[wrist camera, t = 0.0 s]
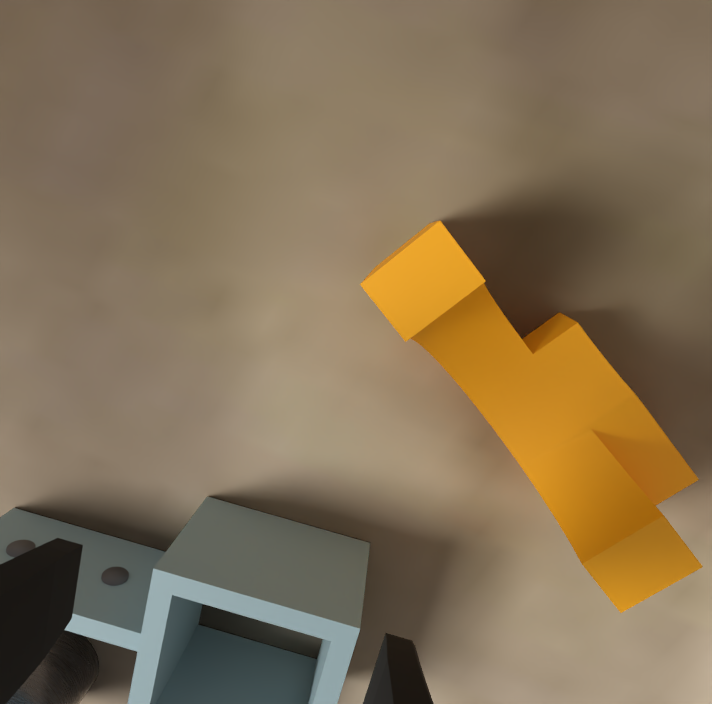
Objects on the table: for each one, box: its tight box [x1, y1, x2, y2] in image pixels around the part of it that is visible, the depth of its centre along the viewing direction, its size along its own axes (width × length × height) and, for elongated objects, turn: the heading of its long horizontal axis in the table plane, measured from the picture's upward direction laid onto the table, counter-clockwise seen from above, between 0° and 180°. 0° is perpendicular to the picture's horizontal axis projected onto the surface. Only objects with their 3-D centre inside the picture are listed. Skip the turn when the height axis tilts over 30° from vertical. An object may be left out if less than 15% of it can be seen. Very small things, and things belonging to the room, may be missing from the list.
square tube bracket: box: [0, 496, 370, 704], centre depth 22 cm, size 15×16×5 cm
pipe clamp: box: [360, 221, 702, 613], centre depth 17 cm, size 12×4×6 cm, turn 39°
